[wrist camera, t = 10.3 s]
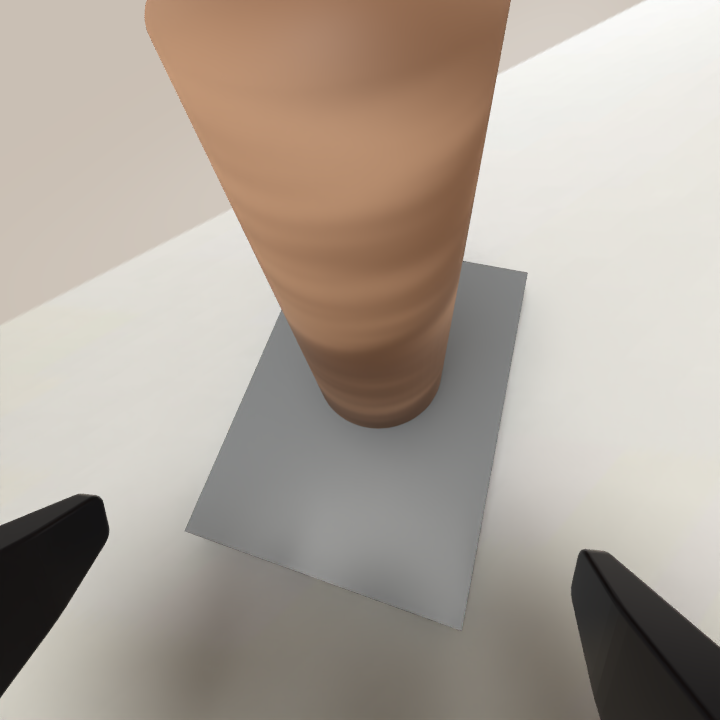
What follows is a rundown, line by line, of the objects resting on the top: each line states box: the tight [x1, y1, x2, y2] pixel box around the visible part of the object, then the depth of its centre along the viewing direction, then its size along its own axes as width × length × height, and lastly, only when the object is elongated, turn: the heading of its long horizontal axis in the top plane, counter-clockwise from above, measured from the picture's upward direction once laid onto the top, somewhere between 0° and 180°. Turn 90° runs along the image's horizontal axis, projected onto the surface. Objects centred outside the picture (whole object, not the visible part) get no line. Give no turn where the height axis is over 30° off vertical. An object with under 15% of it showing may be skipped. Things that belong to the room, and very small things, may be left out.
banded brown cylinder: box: [145, 0, 511, 429], centre depth 12 cm, size 5×5×13 cm
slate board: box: [185, 261, 528, 631], centre depth 18 cm, size 14×10×2 cm
